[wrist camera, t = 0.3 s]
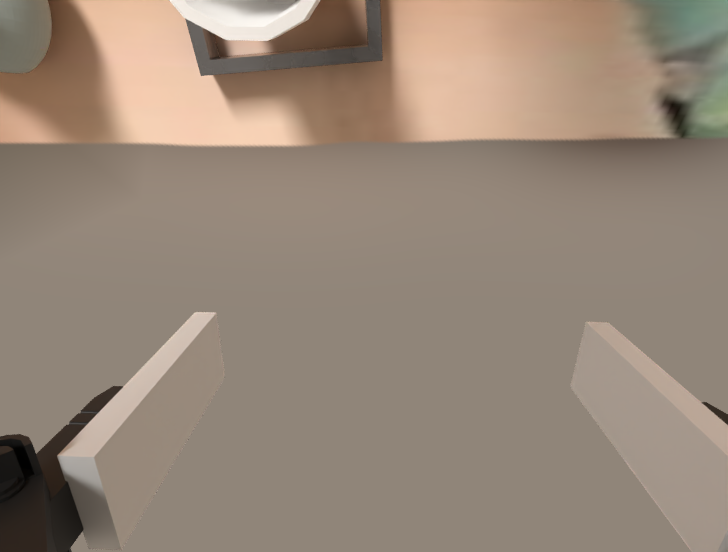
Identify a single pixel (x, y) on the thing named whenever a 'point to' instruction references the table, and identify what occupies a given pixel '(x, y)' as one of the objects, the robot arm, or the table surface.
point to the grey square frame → (287, 59)
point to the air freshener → (24, 34)
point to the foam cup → (246, 16)
